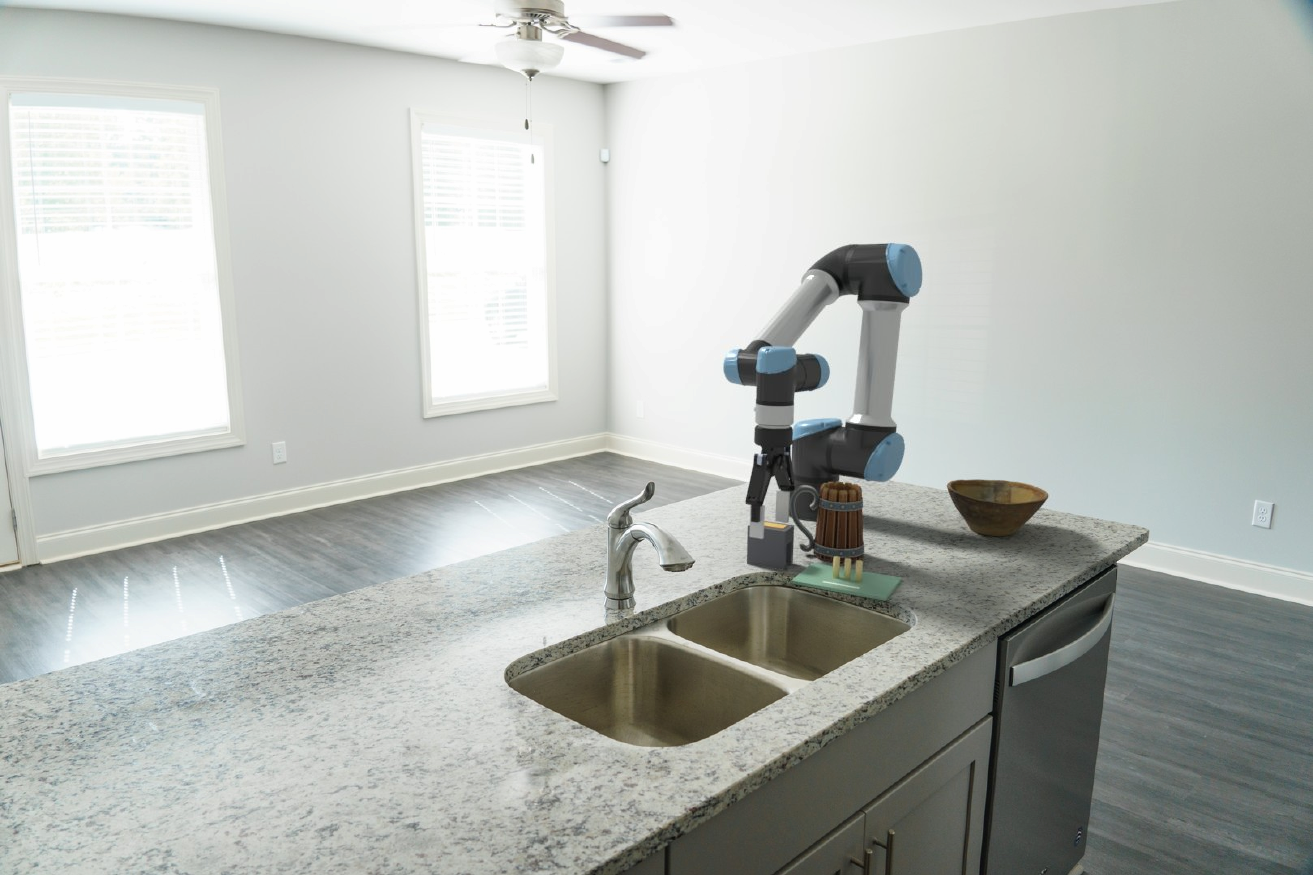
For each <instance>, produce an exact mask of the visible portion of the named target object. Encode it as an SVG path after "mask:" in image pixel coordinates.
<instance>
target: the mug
mask: <svg viewBox="0 0 1313 875" xmlns="http://www.w3.org/2000/svg"><path fill="white" fill-rule="evenodd" d="M802 492H810V493H812V494H813V495H814V501H813V503H812V504H811V505H810V507H811V509H812V510H815V509H816V508H817V506H818V505H819V507H818V515H817V520H816V524H815V525H816V526H815V535H814V536H813V534H812V533H811V532H810V530H809V529H808V528H807V527H806V526H805V525H804V524H803V523H802V522H801V520H800V518H798V517H797V515H796V511H795V501H796V498H797V496H798V495H799V494H800V493H802ZM863 508H864V497H863V489H862V486H861V485H859V484H857V483H852V482H848V481H847V482H845V483H844V482H843V481H839V482H836V483H834V482H828V484H827V483H824V484H823V485H822V486H821V489H820V495H818V492H817V491H816V489H815V488H813V487H811V486H808V485H803V486H799V487H798V488H796V489H795V490H794V492H793V493H792V495H791V498H790V510H791V515H792V516H791V519H792V520H793V523H794V524H795V526H796V527H797V528H798V530H799V531H800V532H801V533H802V534H803V535H804V536H805V537H806V538H807V540H808V544H807V545H806V544H805V542H804V541H798V543H799V544H798V545H799V548H800V550H801V551H803V552H804V553H809V552H811V551H813V552H812V553H813V554H814V556H815V557H816V558H817V557H818V558H817V559H819V560H821V561H825V562H827V561H830V562H829V563H833V559H834V557H835V556H838V557H840V564H845V558H850V559H851V562H852V563H856V560H862V558H863V557H864V553H865V542H864V528H863V526H864V525H863V524H864V523H863V520H864V519H863Z"/></svg>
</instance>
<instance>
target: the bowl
mask: <svg viewBox="0 0 1313 875" xmlns="http://www.w3.org/2000/svg"><path fill="white" fill-rule="evenodd" d="M946 488H947V491H948V494H949V496H950V499H951V501H952V503H953V505H954V507H955V509H956V510H957V511H958V513H959V514H960V515H961V517H962V518H963V520H964V521H965V522H966V524H967V525H968V528H969V529H970V530H971V531H973V532H974V533H978V534H982V535H986V536H992V537H1006V536H1010V535H1011V536H1012V535H1013V534H1014V533H1015V532H1016V531H1018V529H1021V528H1022V527H1023V526H1024V525H1025V524H1026V523H1027V522H1028V521H1029V520H1030V519H1032V518H1033V516H1034V515H1035V514H1036V513H1037V512H1038V511H1039V510H1040V509H1041V508H1042V506H1043V505H1044V504H1045V503H1046V501H1047V500H1048V498H1049V494H1048V492H1047V491H1046V490H1044V489H1042V488H1040V487H1038V486H1035V485H1032V484H1029V483H1025V482H1019V481H1010V480H1002V479H955V480H950V481H949V482H948V483H947V485H946Z"/></svg>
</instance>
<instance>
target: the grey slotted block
mask: <svg viewBox="0 0 1313 875" xmlns="http://www.w3.org/2000/svg"><path fill="white" fill-rule="evenodd" d="M749 534H750V524H748V525H747V538H746V540H747V546H746V564H747V565H751V566H752V565H753V566H756V567H757V566H758V567H763V568H770V569H774V570H781V571H785V570H786V569H787V565H792V564H794V562H793V561H794V543H795V542H794V537H795V525H793V524H788V523H783V522H776V521H775V522H774V521H773V522H772V521H767V520H764V538H763V539H760V538H754V537H749Z"/></svg>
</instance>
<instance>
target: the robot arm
mask: <svg viewBox="0 0 1313 875" xmlns="http://www.w3.org/2000/svg"><path fill="white" fill-rule="evenodd" d="M922 284H923V266H922V262H921V258H920V256H919V254H918V252H917V251H916V249H915V248H914V247H913V246H911V245H909V244H907V243H894V242H889V243H864V244H863V243H862V244H861V243H859V244H858V243H852V244H851V243H850V244H847V245H846V244H845V245H843V246H839V247H838V248H836V249H833V250H831V251H830V252H828V253H827V254H825V255H824V256H822V257H821V258H819V259H818V260H817V261H816V262H814V263H813V264H812V265H811V266H810V267H809V268H808V269H807V271H805V273H804V274H803V275H802V277H801V280H800V285H799V286H798V287H797V289H796V290H795V291H794V292H793V293H792V294H791V295H790V297H789V298H788V299H787V300H786V302H784V304H783V305H782V306H781V307H780V309H779V310H777V312H776V313H775V314H774V315H773V317H772V318H770V320H769V321H768V322H767V324H766V325H765V326H764V327H763V328H762V329H761V330H760V331H759V332H758V334H757V335H756V336H755V337H754V339H752V341H751V342H750V343H749V344H748V345H747V347H746V348H744V349H742V348H738V349H737V348H736V349H732V350H730V351H729V352H728V353H727V354H726V356H725V357H724V360H723V363H722V364H723V366H722V367H723V368H722V369H723V374H724V376H725V378H726V380H727V381H728V382H729V383H731V384H735V385H739V386H740V385H741V386H744V387H756V390H755V393H756V394H755V397H756V398H755V406H754V407H753V411H754V412H755V417H754V418H755V419H754V422H755V424H757V425H755V427H754V433H753V434H754V435H753V436H754V437H753V442H754V444H755V445H756V446H758V447H759V446H760V447H761V450H760V453H754V454H753V463H752V468H751V474H750V479H749V484H748V487H747V493H746V496H745V504H746V505H749V506H750V509H749V511H750V512H749V513H750V514H749V525H750V534H749V537H754V538H760V539H763V538H764V521H765V518H766V517H765V516H766V515H765V513H766V512H765V511H766V505H764V503H765V502H764V501H765V498H766V496H767V493H768V489H769V486H770V484H771V480H772V478H773V477H774V479H775V481H776V485H777V487H778V489H777V490H776V494H775V495H776V497H775V515H774V516H775V522H777V523H784V524H788V523H790V517H792V515H791V510H790V498H791V495H792V493H793V492H794V490H795V489H796V488H798V487H799V486H803V485H808V486H811V487H813V488H815V489H816V491H817V492H818V495H820V489H821V486H822V485H823V484H824V483H827V484H828V482H834V483H836V482H840V477H841V476H842V477H846V478H851V479H859V480H865V481H866V482H876V483H884V482H888V481H890V480H891V479H892V478H893V477H895V475H896V474H897V472H898V471H899V470H900V467H901V465H902V462H903V459H904V455H905V449H906V448H905V446H906V445H905V439H904V437H903V435H901V434H900V433H898V432H897V428H898V427H897V426H898V425H897V423H896V422H895V420H894V418H892V410H893V402H894V401H893V400H894V391H895V380H896V379H895V378H896V371H897V370H896V369H897V360H898V350H899V342H900V341H899V339H900V330H901V322H902V313H903V311H904V310H906V308H908V307H909V306H910V301H911V298H914V297H915V296H917V295H918V294H919V293H920V289H921V288H922ZM850 295H851V296H856V297H857V298H856V303H857V304H858V305H859V306H860V308H861V310H862V315H861V316H862V318H861V329H860V335H859V336H860V337H859V338H860V339H859V348H858V357H857V358H858V360H857V368H856V378H855V379H856V380H855V389H854V398H853V400H854V401H853V409H852V410H853V411H852V414H851V415H850V416H849V417H847V419H846V420H845V423H844V424H845V426H843V420H842V419H840V418H837V417H832V418H831V417H830V418H827V417H826V418H813V419H805V420H801V421H797V422H796V423H795V422H794V421H795V420H794V419H795V418H794V417H795V416H794V415H795V412H794V411H795V393H802V392H813V391H815V390H819V389H822V387H824V386H825V385H826V384H827V383H828V381H829V378H830V375H831V371H830V366H829V363H828V361H827V359H825V357H823V356H822V355H820V354H818V353H809V352H807V353H805V354H804V353H803V354H802V353H797V352H796V349H795V348H794V347H793V346H794V345H795V344H796V343H797V341H798V340H799V339H800V338H801V336H802V335H804V334H805V332H806V331H807V329H808V328H809V327H810V326H811V324H812V323H813V322H814V321H815V320H816V319H817V317H818V316H819V315H820V314H821V313H822V311H823V310H824V309H825V308H826V306H830V305H832V304H834V303H835V302H836V301H837V300H838V299H839V298H841V297H843V296H850ZM794 423H795V424H794ZM793 424H794V425H793ZM792 425H793V427H792ZM813 501H814V495H813V494H812V493H810V492H802V493H800V494H799V495H798V496H797V498H796V501H795V511H796V515H797V517H798V519H799V520H800V519H801V520H809V521H817V515H818V507H819V505H818V506H817V508H816V509H815V510H812V509H811V507H810V505H811V504H812V503H813Z"/></svg>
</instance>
